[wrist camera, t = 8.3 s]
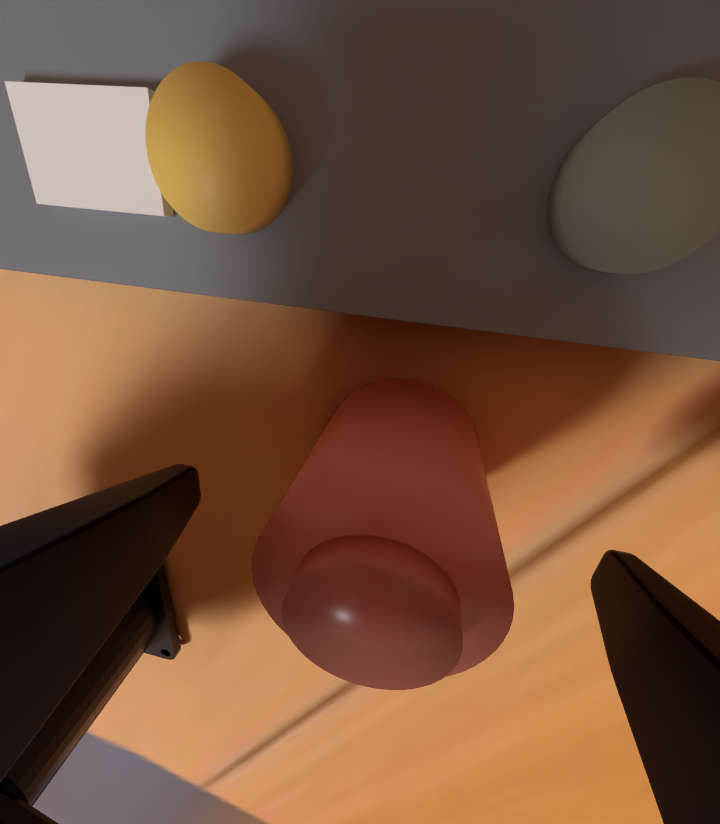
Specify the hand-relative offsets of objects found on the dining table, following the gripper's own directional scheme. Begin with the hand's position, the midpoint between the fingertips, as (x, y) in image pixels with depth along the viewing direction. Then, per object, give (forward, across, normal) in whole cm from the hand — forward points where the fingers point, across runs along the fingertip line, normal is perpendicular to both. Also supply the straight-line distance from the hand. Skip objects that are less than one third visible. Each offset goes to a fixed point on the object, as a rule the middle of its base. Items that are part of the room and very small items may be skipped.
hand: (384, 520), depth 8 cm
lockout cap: (+3, 0, 0) cm, 3 cm away
